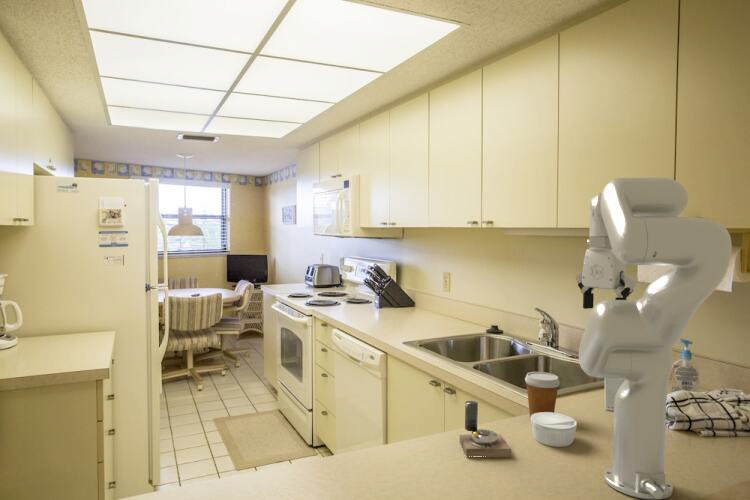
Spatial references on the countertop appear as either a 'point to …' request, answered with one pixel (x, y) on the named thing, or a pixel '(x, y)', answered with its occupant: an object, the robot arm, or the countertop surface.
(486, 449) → the level stand
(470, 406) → the capstan dial
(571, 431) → the ramekin
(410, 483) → the countertop surface
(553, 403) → the disposable coffee cup
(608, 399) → the skincare box
